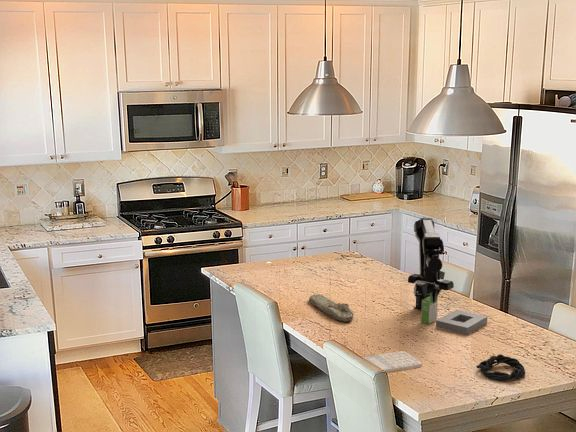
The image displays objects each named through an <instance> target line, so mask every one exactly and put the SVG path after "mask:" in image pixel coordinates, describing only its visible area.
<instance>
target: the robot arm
mask: <svg viewBox="0 0 576 432" xmlns="http://www.w3.org/2000/svg"><path fill="white" fill-rule="evenodd" d="M413 232H415V233H414V235H415V238H416V239H417V241H418V245H419V246H418V249H419V250H418V251H419V252H418V253H419V274H418V273H413V274H410V275H408V277H407V283H409V284H414V287H413V295H414V297H415V306H414V307H413V309H414V310H416V311H417V310H418V311H421V310H422V300H423V299H425V298H427V297H429V296H430V293H432V292H433V295H432V297H433V303H435V302H436V299H437V297H439V294H440V293H441V291H449V290H452V289H454V288H455V286H454V285H455V283H454V281H453V280H448V279H445V275H446V272H445V271H442V268H443V262H442V260H441V259H440V255H443V254H444V251H445V247H444V241H443V239H442V238H441V235H440V234H438V233H437V232H436V230H435V221H434V220H433V218H432V217H422V218H421V217H420V219H418V220H417V221H416V220H415V221H414V224H413Z"/></svg>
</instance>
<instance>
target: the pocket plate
mask: <svg viewBox="0 0 576 432" xmlns="http://www.w3.org/2000/svg"><path fill="white" fill-rule="evenodd" d="M487 324H488V315H487V316H486V315H482V314H478V313H472V312H468V311H466V310H465V311H464V310H460V309H456V310H454V311H451V312H450V313H448V314H445V315H444V316H442V317H440V318H437V320H435V328H438V329H442V330H446V331H450V332H454V333H457V334H461V335H466V336H468V335H470V334H472V333H473V332H475V331H476V330H478V329H480V328H482V327H484V326H485V325H487Z"/></svg>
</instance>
